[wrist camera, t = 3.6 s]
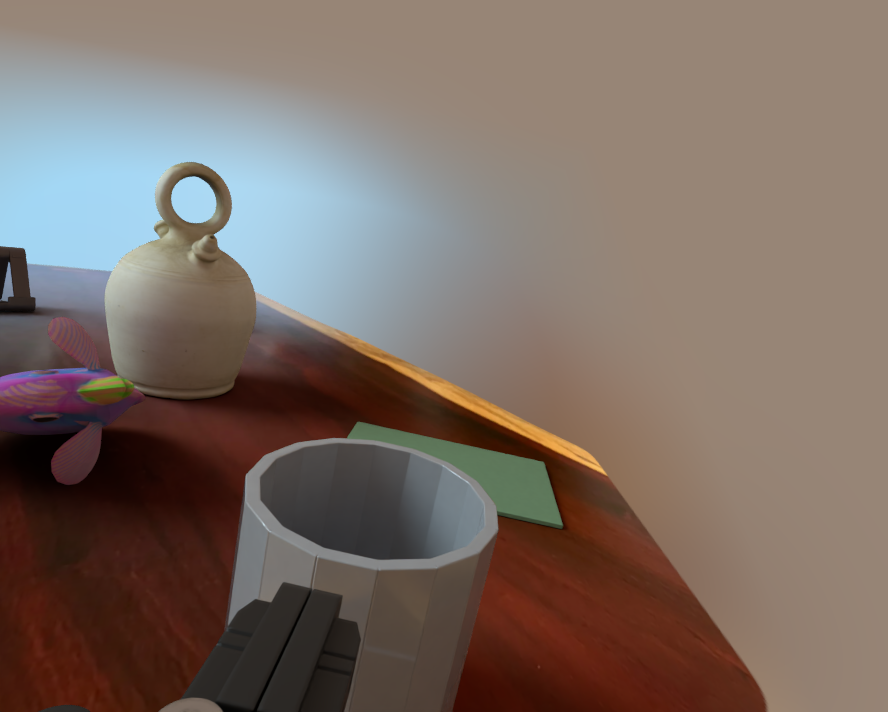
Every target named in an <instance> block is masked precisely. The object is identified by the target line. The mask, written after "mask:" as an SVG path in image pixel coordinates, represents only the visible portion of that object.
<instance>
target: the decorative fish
mask: <svg viewBox="0 0 888 712" xmlns="http://www.w3.org/2000/svg"><path fill="white" fill-rule="evenodd" d="M48 335H49V336H50V338H51V339H52V341H53V342H54V343H55V344H56V345H58V346H59V347H60V348H61V349H62V350H64V351H65V352H67V353H68V354H69V355H71V356H72V357H73V358H75V359H76V360H77V361H79V362H80V363H82V364H83V365H84V366H85V367H86V368H72V369H53V370H39V371H29V372H22V373H16V374H10V375H7V376H4V377H0V430H1V431H5V432H11V433H17V434H23V435H54V434H68V433H75V432H79V433H77V434H76V435H75V436H73V437H72V438H71V439H69V440H68V441H67V442H65V443H64V444H63V445H62V446H61V447H60V448H59V449H58V450H57V451H56V452H55V454H54V456H53V458H52V460H51V468H52V473H53V475H54V477H55V478H56V480H57V482H60V483H63V484H66V485H71V484H78V483H79V482H80V481H82V480H83V479H84V478H86V477H87V475H88V474H89V473H90V471H91V470H92V468H93V467H94V465H95V463H96V461H97V458H98V455H99V452H100V445H101V433H102V428H103V427H104V426H107V425H109V424H111V423H112V422H113V421H114V420H115V419H117V418H118V417H119V416H120V415H121V414H123V413H124V412H125V411H126V410H127V409H128V408H129V407H131V406H133V405H136V404H138V403H141V402H143V401H144V400H145V398H146V397H145V396H144V395H143V394H142V393H140V392H139V391H138V390H137V389H135V387H134V384H133V383H132V382H131V381H129V380H127V379H123V378H121V377H118V376H116V375H115V374H113V373H112V372H110V371H108V370H106V369H102V368H101V367H100V365H99V359H98V354H97V350H96V347H95V345H94V343H93V341H92V339H91V338H90V336H89V335H88V334H87V332H86V331H85V330H84V328H83V327H82V326H80V325H79V324H78V323H77V322H75V321H74V320H72V319H69V318H65V317H58V318H53V320H52V321H51V322H50V324H49V325H48Z"/></svg>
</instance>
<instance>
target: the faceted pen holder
mask: <svg viewBox="0 0 888 712" xmlns="http://www.w3.org/2000/svg"><path fill="white" fill-rule="evenodd" d="M497 534H498V518H497V506H496V504H495V503H494V502H493V501H492V499H491V498H490V497H489V495H488V494H487V493H486V491H485V490H484V489H483V488H482V486H481V485H480V484H479V483H478V481H476V480H475V479H473V478H472V477H470V476H469V475H467V474H466V473H464V472H463V471H461V470H460V469H458V468H457V467H455V466H454V465H452V464H451V463H448V462H446V461H443V460H441V459H438V458H436V457H433V456H431V455H428V454H426V453H423V452H421V451H418V450H416V449H412V448H408V447H403V446H399V445H394V444H389V443H385V442H380V441H375V440H361V439H344V438H331V439H322V440H314V441H306V442H298V443H295V444H292V445H290V446H287V447H284V448H282V449H279V450H277V451H274V452H271V453H269V454H267V455H265V456H264V457H263V458H262V459H261V460H260V461H259V462H258V463H257V464H256V465H255V466H254V467H253V468H252V469H251V470H250V471H249V472H248V473H247V474H246V477H245V483H244V491H243V498H242V506H241V513H240V520H239V528H238V535H237V543H236V550H235V557H234V565H233V572H232V579H231V587H230V594H229V602H228V609H227V616H226V624H225V631H224V632H226V630H227V627H228V626H229V624H230V622H231V621H232V619H233V618H234V616H235V615H236V613H237V612H238V611H239V610H240V609H242V608H243V607H245V606H246V605H247V604H249V603H250V602H252V601H253V600H254V599H258V600H262V601H267V602H272V600H273V598H274V596H275V595H276V593H277V591H278V589H279V588H280V586H281V584H282V583H283V582H287V583H291V584H295V585H300V586H304V587H308V588H312V590H314V589H318V590H322V591H326V592H331V593H335V594H339V595H343V598H342V604H341V609H340V614H339V618H341V619H345V620H350V621H354V622H357V625H358V629H359V634H360V638H361V641H360V646H359V651H358V655H357V660H356V665H355V669H354V674H353V679H352V684H351V688H350V692H349V696H348V700H347V703H346V707H345V710H344V712H452V710H453V706H454V702H455V698H456V694H457V690H458V686H459V682H460V678H461V675H462V671H463V667H464V663H465V659H466V655H467V651H468V647H469V643H470V639H471V636H472V632H473V628H474V624H475V620H476V616H477V612H478V608H479V604H480V600H481V597H482V593H483V589H484V585H485V581H486V577H487V573H488V569H489V565H490V561H491V558H492V554H493V550H494V546H495V542H496V538H497Z"/></svg>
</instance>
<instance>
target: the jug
mask: <svg viewBox="0 0 888 712" xmlns="http://www.w3.org/2000/svg"><path fill="white" fill-rule="evenodd" d="M192 176H196V177H199V178H201V179H203V180H204V181H205V182H207V183H208V184H209V185H210V187H211V188H212V189H213V191H214V193H215V197H216V202H217V206H216V211H215V213H214V215H213V216H212V218H211V219H209V220H208V221H206V222H203V223H189V222H186V221H184V220H183V219H181V218H180V217H179V216H178V215H177V214H176V212H175V211H174V209H173V207H172V203H171V194H172V190H173V188H174V186H175V185H176V184H177V183H178V182H179V181H180V180H182V179H183V178H186V177H192ZM155 201H156V206H157V209H158V211H159V214H160V215H161V217H162V218H163V220H160V221H159V222H157V223H156V224H155V226H154V230H155V232H156V233H157V234H158V235H159V237H160V238H161V239H158V240H155V241H151V242H148V243H146V244H144V245H141V246H139V247H138V248H136V249H134V250H132V251H131V252H129V253H127V254H126V255H125V256H124V257H122V258H121V260H120V261H119V262H118V264H117V265H116V267H115V268H114V270H113V271H112V273H111V275H110V277H109V280H108V283H107V286H106V291H105V311H106V320H107V327H108V334H109V340H110V347H111V353H112V358H113V362H114V366H115V369H116V372H117V374H118V377H121V378H123V379H127V380H129V381H131V382H132V383H133V384H134V387H135V389H137V390H138V391H139V392H140V393H143V394H147V395H151V396H156V397H163V398H172V399H183V400H185V399H200V398H209V397H215V396H218V395H222V394H224V393H226V392H228V391H229V390H231V389H232V388H233V386H234V380H235V378H236V377H237V374H238V372H239V370H240V368H241V365H242V362H243V359H244V355H245V352H246V349H247V346H248V343H249V340H250V336H251V334H252V331H253V327H254V324H255V319H256V297H255V292H254V289H253V285H252V283H251V280H250V278H249V277H248V274H247V273H246V271H245V270H244V269H243V268H242V267H241V266H240V265H239V264H238V263H237V262H236V261H235V260H234V259H233V258H231V257H230V256H229V255H227V254H226V253H225V252H223V251H221V250H220V249H219V248H218V245H217V239H216V238H215V236H214V234H215V233H217V232H218V231H220V230H221V229H222V228H223V227H224V226H225V225H226V223H227V222H228V220H229V217H230V214H231V209H232V202H231V195H230V192H229V189H228V187H227V186H226V184H225V182H224V181H223V179H222V178H221V177H220V176H219V175H218V174H217V173H216V172H215V171H213V170H212V169H210V168H209V167H207V166H204V165H203V164H199V163H195V162H186V163H180V164H177V165H175V166H173V167H171V168H169V169H168V170H167V171H165V173H164V174H163V175H162V176H161V177H160V179H159V181H158V183H157V186H156V191H155Z"/></svg>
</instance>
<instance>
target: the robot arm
mask: <svg viewBox="0 0 888 712" xmlns="http://www.w3.org/2000/svg"><path fill="white" fill-rule="evenodd" d="M342 598H343V595H339V594H335V593H331V592H326V591H322V590H318V589H314V590H312V588H308V587H304V586H300V585H295V584H291V583H287V582H283V583H282V584H281V586H280V588H279V589H278V591H277V593H276V595H275V596H274V598H273V600H272V602H267V601H262V600H258V599H254V600H253V601H252V602H250V603H249V604H247V605H246V606H245V607H243V608H242V609H240V610H239V611H238V612H237V613H236V615H235V616H234V618H233V619H232V621H231V622H230V624H229V626H228V627H227V630H226V632H224V633H223V635H222V636H221V638H220V640H219V641H218V644H217V646H215V647H214V649H213V650H212V652H211V654H210V655H209V657H208V658H207V660H206V661H205V663H204V664H203V666H202V668H201V669H200V671H199V672H198V674H197V675H196V677H195V678H194V680H193V682H192V683H191V685H190V686H189V688H188V689H187V691H186V692H185V694H184V695H183V697H182V698H181V700H178V701H175V702H173V703H171V704H169V705H167V706H166V707H164V708H162V709H161V710H160V711H159V712H344V710H345V707H346V703H347V700H348V696H349V692H350V688H351V684H352V679H353V674H354V669H355V665H356V660H357V655H358V651H359V646H360V641H361V638H360V634H359V629H358V625H357V622H354V621H350V620H345V619H341V618H339V614H340V609H341V604H342ZM39 712H90V711H89V710H87V709H85V708H83V707H80V706H75V705H61V706H55V707H51V708H47V709H44V710H42V711H39Z"/></svg>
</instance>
